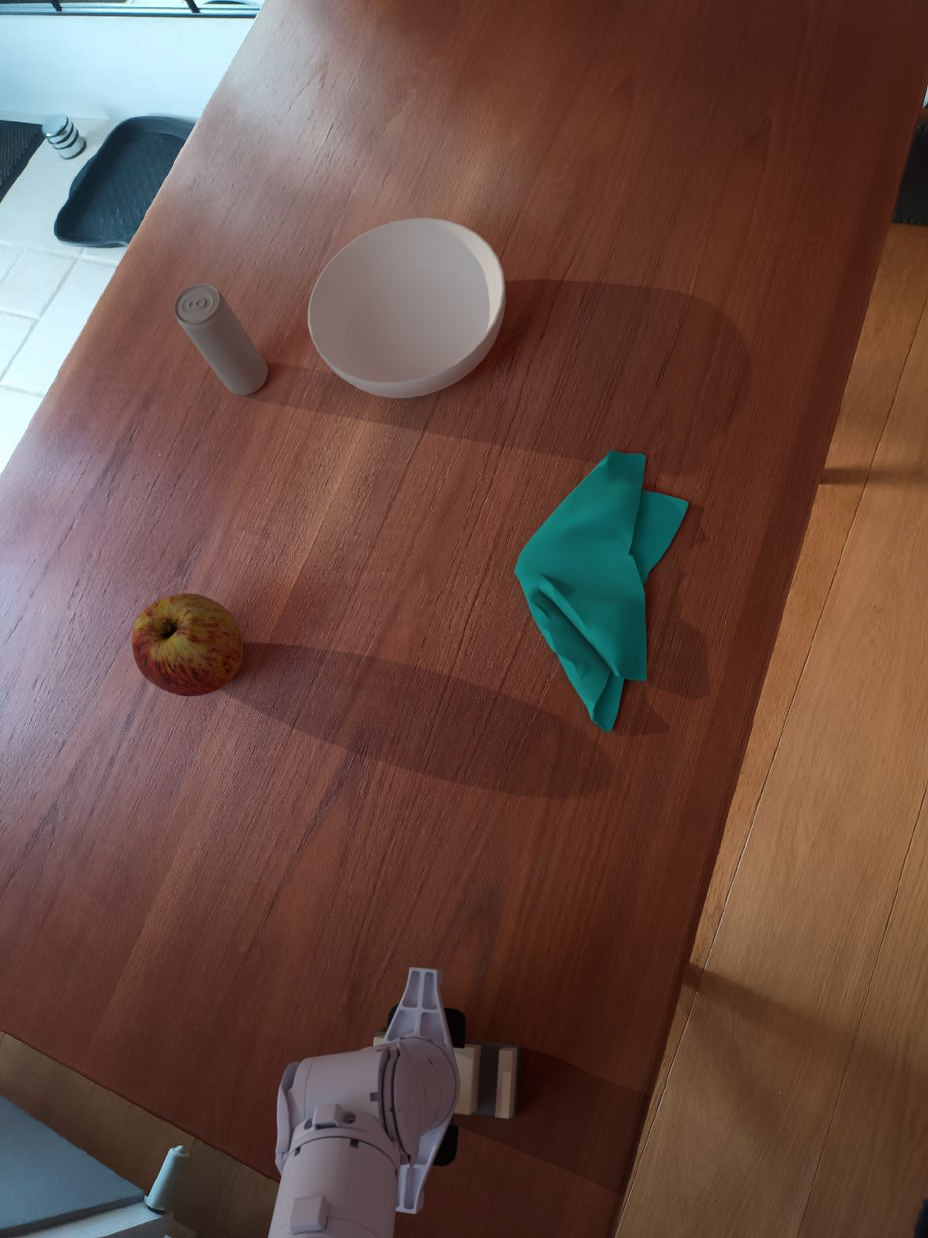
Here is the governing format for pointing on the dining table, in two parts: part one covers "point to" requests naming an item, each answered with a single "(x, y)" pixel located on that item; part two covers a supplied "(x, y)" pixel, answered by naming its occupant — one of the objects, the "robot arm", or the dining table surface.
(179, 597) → the apple
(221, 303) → the beverage can
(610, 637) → the cloth
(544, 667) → the dining table surface
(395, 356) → the bowl
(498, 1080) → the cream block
